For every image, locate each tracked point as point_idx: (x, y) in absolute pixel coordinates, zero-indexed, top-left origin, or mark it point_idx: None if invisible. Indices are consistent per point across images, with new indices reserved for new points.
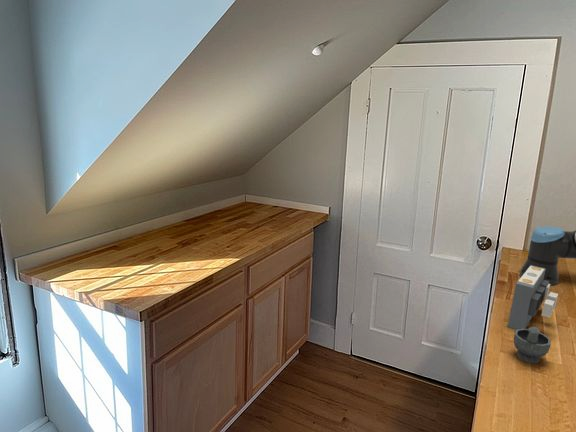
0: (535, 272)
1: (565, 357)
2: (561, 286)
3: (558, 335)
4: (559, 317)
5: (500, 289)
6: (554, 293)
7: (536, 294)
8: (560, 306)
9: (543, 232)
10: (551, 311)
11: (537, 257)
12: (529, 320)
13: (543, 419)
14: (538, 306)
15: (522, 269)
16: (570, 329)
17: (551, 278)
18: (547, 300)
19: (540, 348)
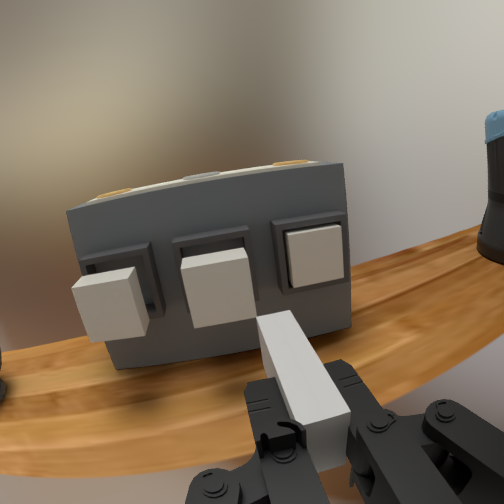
0: (244, 170)
1: (7, 461)
2: None
3: (166, 433)
4: (362, 377)
5: (364, 264)
6: (238, 253)
7: (133, 246)
8: (456, 333)
9: (493, 112)
10: (95, 318)
11: (494, 185)
12: (200, 351)
13: None
14: (153, 299)
15: (481, 225)
16: None
17: None
18: (119, 271)
19: None
